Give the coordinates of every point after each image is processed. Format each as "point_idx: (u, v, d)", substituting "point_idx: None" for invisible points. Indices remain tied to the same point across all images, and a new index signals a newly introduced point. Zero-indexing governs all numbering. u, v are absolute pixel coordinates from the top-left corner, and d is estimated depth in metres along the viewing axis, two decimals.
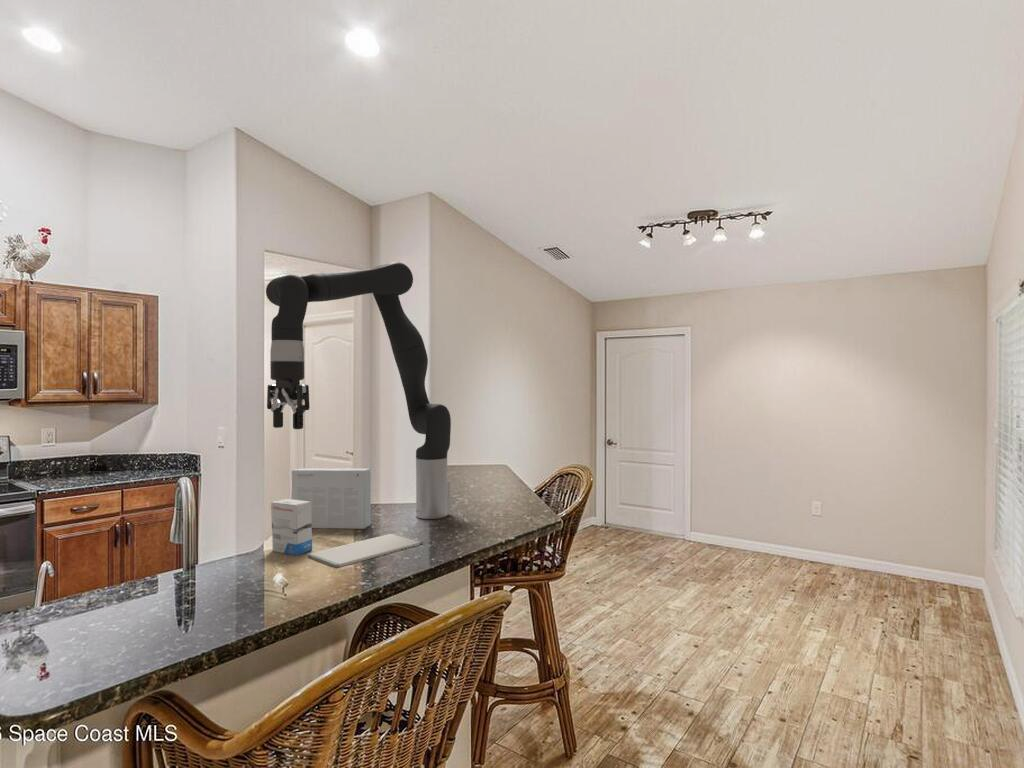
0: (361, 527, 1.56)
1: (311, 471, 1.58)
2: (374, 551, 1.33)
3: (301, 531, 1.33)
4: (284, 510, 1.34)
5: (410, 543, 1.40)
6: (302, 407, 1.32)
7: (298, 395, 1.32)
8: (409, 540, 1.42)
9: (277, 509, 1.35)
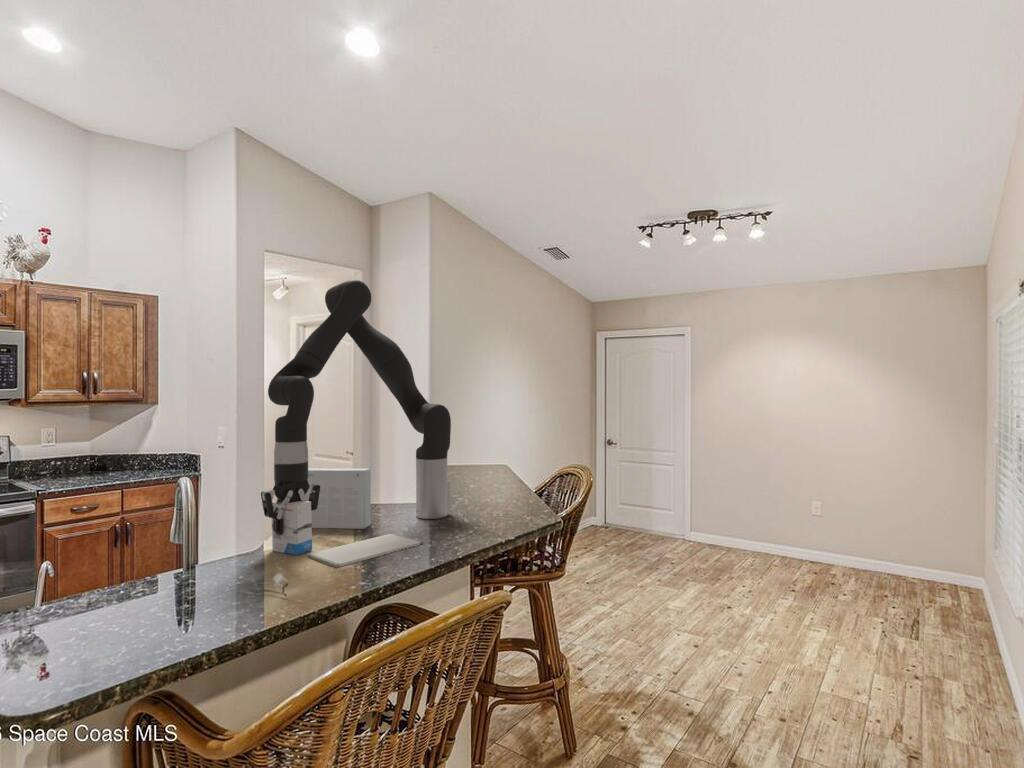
0: (361, 527, 1.56)
1: (311, 471, 1.58)
2: (374, 551, 1.33)
3: (301, 531, 1.33)
4: (284, 510, 1.34)
5: (410, 543, 1.40)
6: None
7: (317, 495, 1.40)
8: (409, 540, 1.42)
9: None
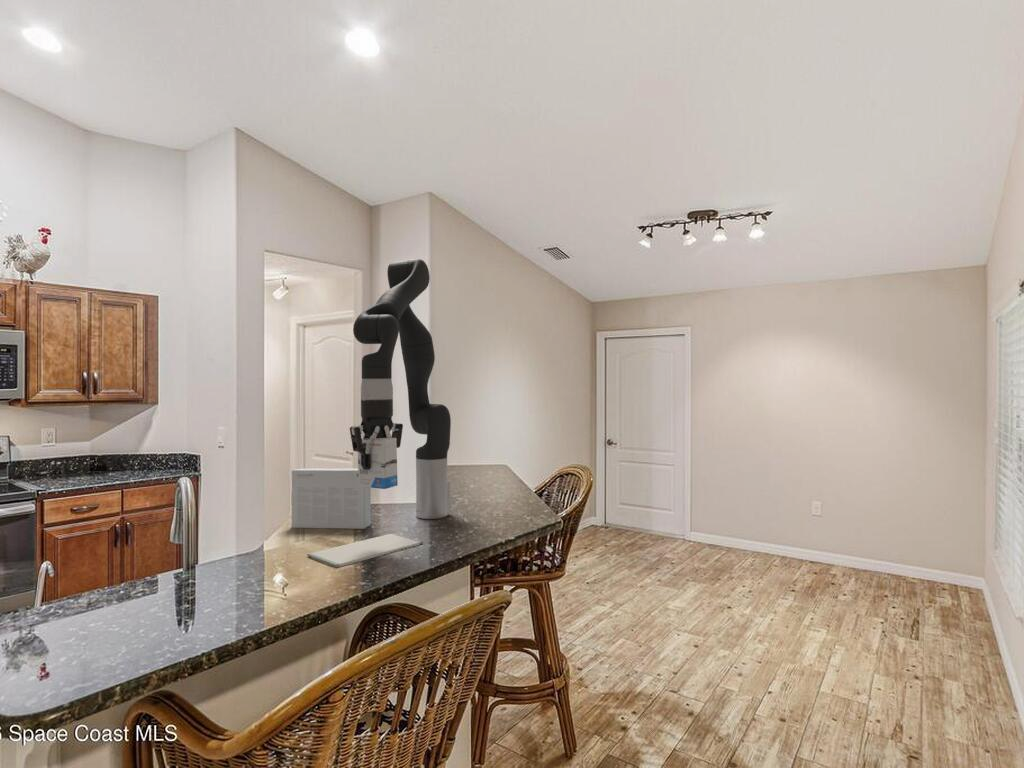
0: (361, 527, 1.56)
1: (311, 471, 1.58)
2: (374, 551, 1.33)
3: (388, 465, 1.36)
4: None
5: (410, 543, 1.40)
6: None
7: (400, 433, 1.42)
8: (409, 540, 1.42)
9: None
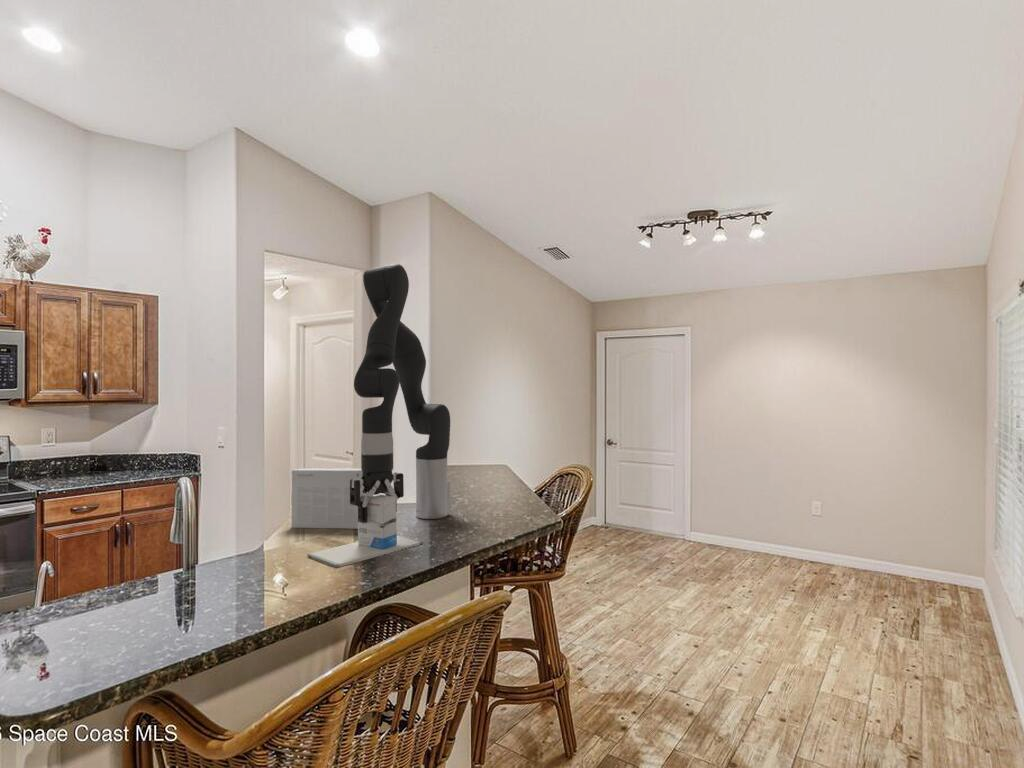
0: None
1: (311, 471, 1.58)
2: (374, 551, 1.33)
3: (387, 525, 1.36)
4: (370, 505, 1.36)
5: (410, 543, 1.40)
6: None
7: (401, 483, 1.43)
8: (409, 540, 1.42)
9: None
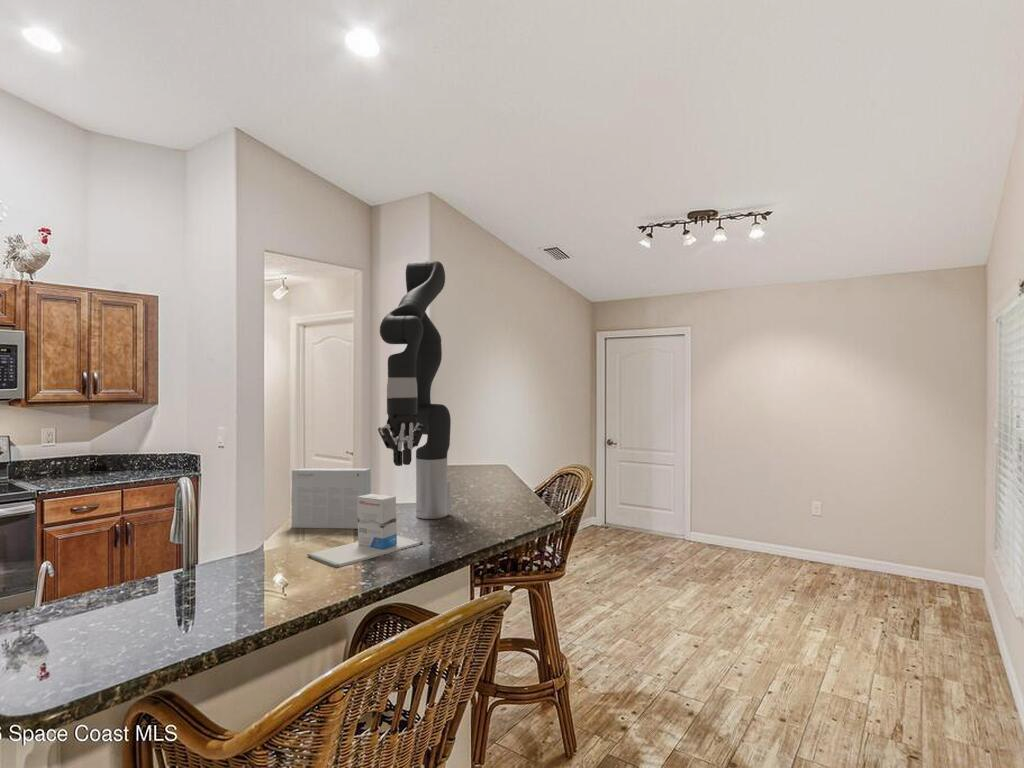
0: None
1: (311, 471, 1.58)
2: (374, 551, 1.33)
3: (387, 525, 1.36)
4: (370, 505, 1.36)
5: (410, 543, 1.40)
6: None
7: (420, 434, 1.47)
8: (409, 540, 1.42)
9: (363, 503, 1.37)
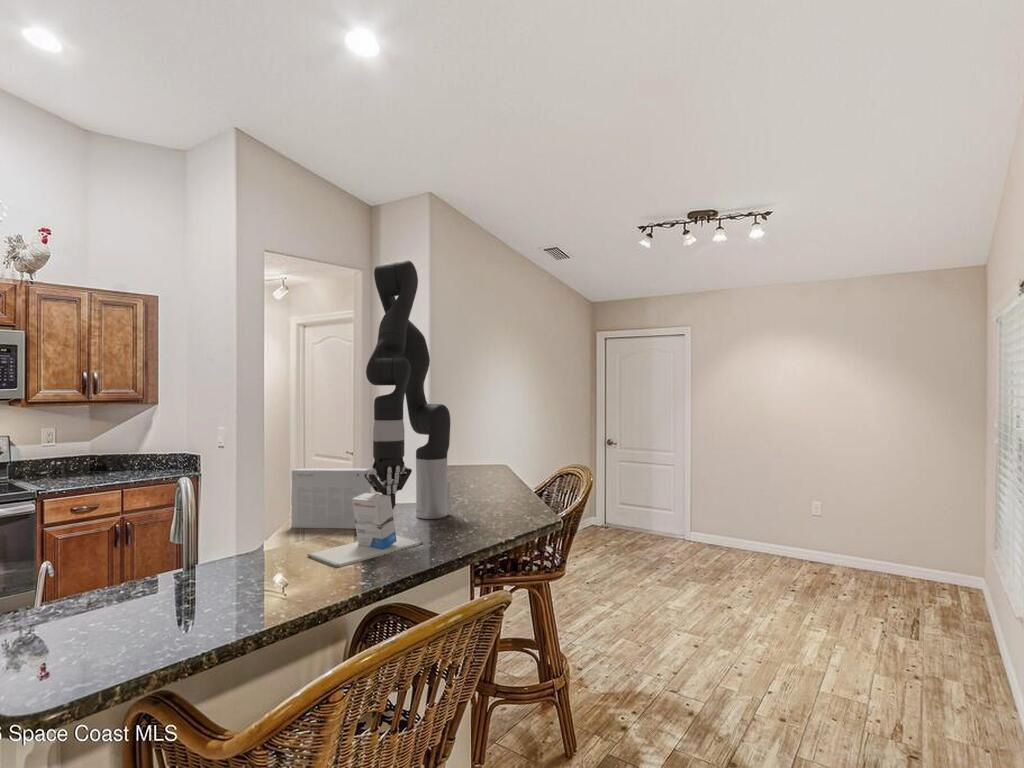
0: None
1: (311, 471, 1.58)
2: (374, 551, 1.33)
3: (385, 525, 1.35)
4: (366, 506, 1.35)
5: (410, 543, 1.40)
6: None
7: (406, 478, 1.44)
8: (409, 540, 1.42)
9: (358, 505, 1.36)
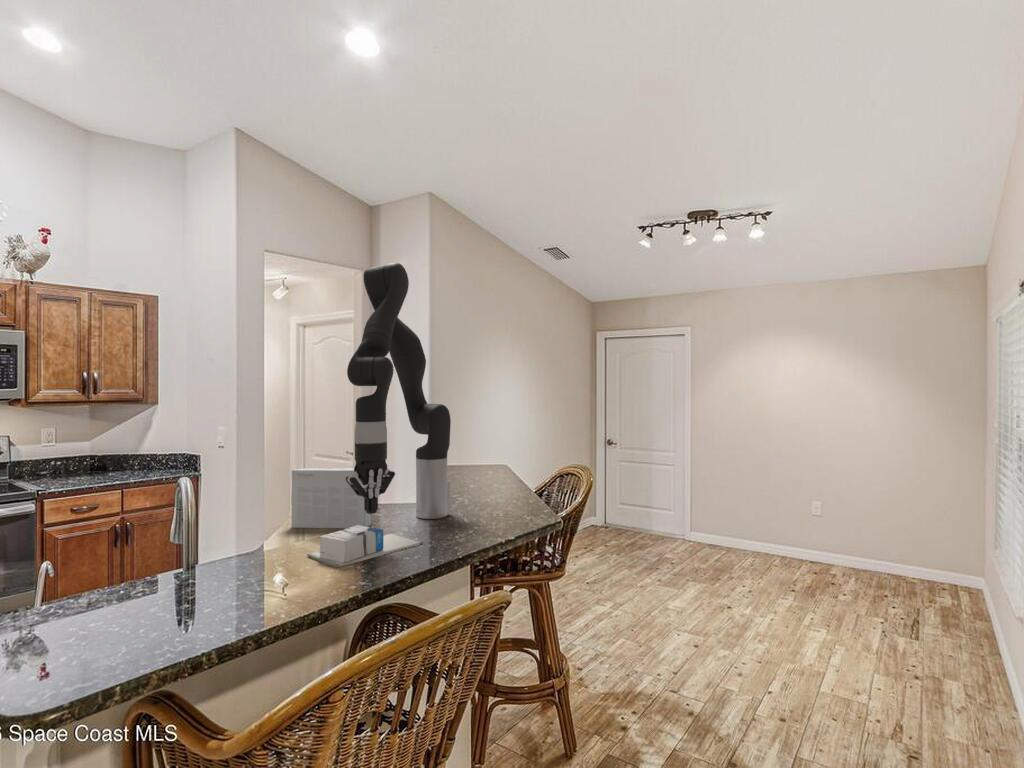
0: None
1: (311, 471, 1.58)
2: None
3: (367, 549, 1.30)
4: None
5: (410, 543, 1.40)
6: None
7: (389, 481, 1.40)
8: (409, 540, 1.42)
9: None
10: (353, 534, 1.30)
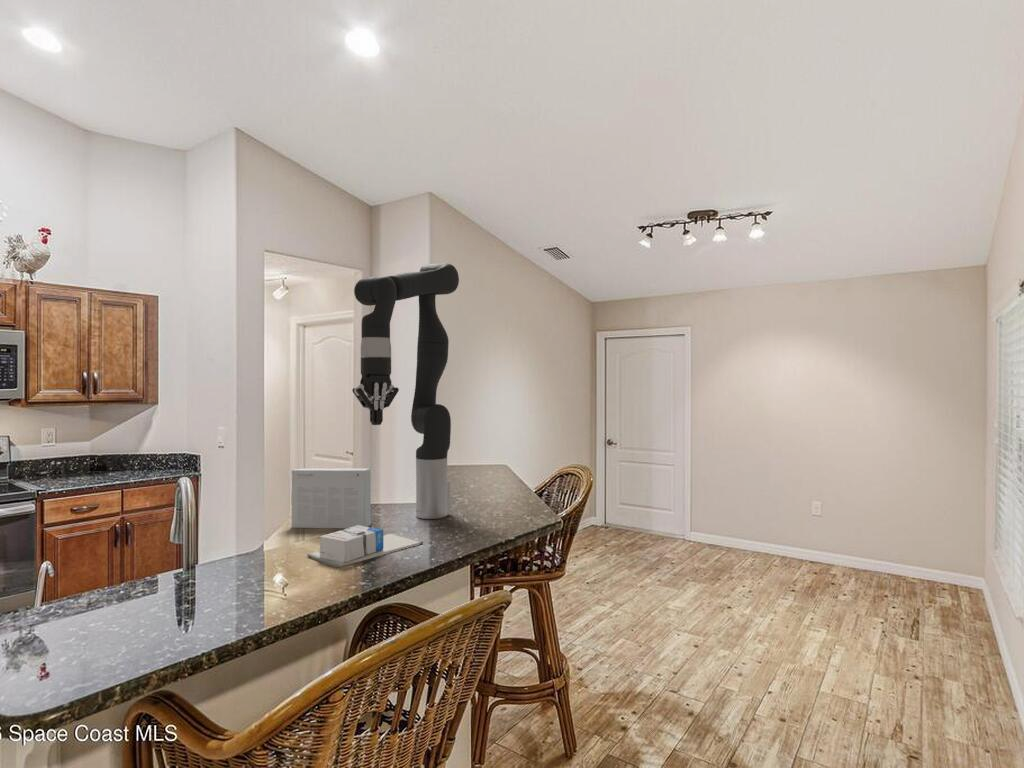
0: None
1: (311, 471, 1.58)
2: None
3: (367, 549, 1.30)
4: None
5: (410, 543, 1.40)
6: None
7: (393, 396, 1.48)
8: (409, 540, 1.42)
9: None
10: (353, 534, 1.30)
